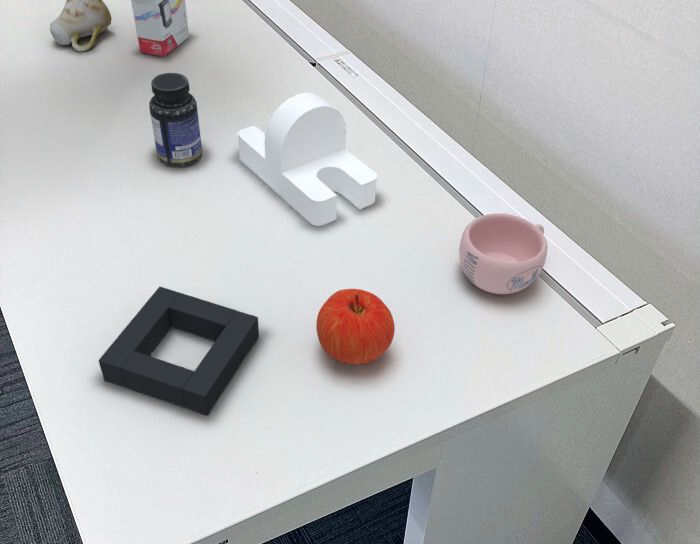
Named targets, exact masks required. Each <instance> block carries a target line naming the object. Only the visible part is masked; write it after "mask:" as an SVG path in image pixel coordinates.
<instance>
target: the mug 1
mask: <svg viewBox="0 0 700 544" xmlns="http://www.w3.org/2000/svg"><path fill="white" fill-rule="evenodd" d="M112 21H113V19H112V14H111V12H110V9H109V7H108V6H107V4H106V3H105V2H104V1H103V0H66V1H65V4H64V5H63V8H62V10H61V13H60V14H59V15H58V16H57V17H56V19H54V20H53V21H52V22H51V23H50V24H49V31H50V35H51V37H52V38H53V39H54V41H56V43H58V44H60V45H63V46H69V45H71V46H72V48H73V49H74V50H75V51H76V52H85V51H88V50H90V49H91V48H92V47H93V46H94V45H95V42H96V39H97V37H98V35H99V34H100V33H102V32H104V31H105V30H107V28H108V27H109V26H110V25H111V24H112ZM90 36H91V38H90V39H89V42H88V43H87V44H86V45H79V44H78V40H79V39H81V38H85V37H90Z"/></svg>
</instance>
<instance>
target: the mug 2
mask: <svg viewBox="0 0 700 544" xmlns="http://www.w3.org/2000/svg"><path fill="white" fill-rule="evenodd" d="M544 233H545V229H544V225H542V224H538V223H537V224H534V223H533V222H531V221H530V220H527V219H526V218H523V217H521V216H519V215H515V214H511V213H503V212H502V213H501V212H495V213H486V214H482V215H480V216H478V217H476V218H474V219H472V220H471V221H470V222H469V223H468V224H467V225H466V227H465V228H464V229H463V231H462V235H461V239H460V242H459V246H458V247H459V249H458V252H459V253H458V255H459V262H460V264H461V268H462V270H463V273H464V274H465V275H464V276H466V278H467V279H468V281H470V282H471V283H472V284H473V285H474V286H475V287H477V288H478V289H480V290H482V291H484V292H487V293H489V294H494V295H512V294H515V293H518V292H521V291H522V290H524V289H526V288H528V287H529V286H530V285H531V284H532V283H533V282H534V281H535V280H536V279H537V278H538V277H539V275H540V274H541V272H542V270H543V269H544V267H545V264H546V261H547V255H548V242H547V241H548V240H547V239H546V237H545V234H544Z"/></svg>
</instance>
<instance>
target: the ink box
mask: <svg viewBox="0 0 700 544" xmlns="http://www.w3.org/2000/svg"><path fill="white" fill-rule="evenodd" d="M130 2H131V8H132V13H133V18H134V19H133V21H134V24H135V25H134V26H135V31H136V36H137V43H138V47H139V52H140V53H143V54H148V55H153V56H158V57H159V56H160V57H165V58H166V56H168V55H169V54H170V53H171V52H172V51H174V50H175V49H176V48H177V47H178V46H180V45H181V44H182V43H183V42H184V41H185V40H187V39H188V38H189V37H190V32H189V31H190V30H189V25H188V24H189V22H188V15H187V5H186V0H130Z"/></svg>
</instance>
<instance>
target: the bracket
mask: <svg viewBox="0 0 700 544" xmlns="http://www.w3.org/2000/svg"><path fill="white" fill-rule="evenodd" d="M237 139H238V140H237V141H238V142H237V143H238V154H239V155H238V156H239V157H238V158H239V160H240V161H241V162H242V164H244V165H245V166H246V167H247V168H248V169H249V170H250V171H251V172H252V173H254V174H255V176H257V177H258V178H259V179H260V180H262V181H263V182H264V183H265V184H266V185H267V186H268V187H269V188H271V189H272V190H273V191H274V193H276V194H277V195H278V197H280V198H282V199H283V201H284V202H286V203H287V204H288V205H289V206H290V207H292V209H294V211H296V212H297V213H298V214H299V215H300V216H301V217H303V219H305V220H306V221H307V223H309V225H310V224H311V225H312V226H315V227H322V226H325V225H327V224H331V223H333V222H334V221H337V207H338V206H337V205H338V195H337V194H336V193H338V194H340V195H342V196H343V197H344V198H345V199H346V200H347V201H348V202H350V203H351V204H352V205H353V206H355V208H357V209H358V210H362V209H364V208H367V207H370V206H372V205H373V204H375V202H376V192H377V180H378V174H377V173H376V172H375V171H374V170H373V169H371V168H370V167H369V166H367V165H366V164H365V163H364V162H363V161H361V160H360V159H359V158H358V157H356V156H355V155H354V154H352V153H351V152H350V151H349V150H348V149H346V143H347V126H346V121H345V119H344V116H343V114H341V112H340V111H339V110H338V109H337V108H335V106H333V105H331V104H330V103H329V102H328V101H327V100H325V99H323V98H322V97H320V96H319V95H317V94H315V93H312V92H302V93H297V94H295V95H293V96H291V97H289V98H287V99H286V100H285V101H283V102H282V103H281V104H280V105H279V106H278V107H277V108H276V109H275V110H274V112H273V114H272V115H271V117H270V119H269V121H268V123H267V125H266V129H265V132H263V131H262V130H261V129H260V128H258V126H256V125H251V126H248V127H245V128H242V129H240V130H238V132H237Z"/></svg>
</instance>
